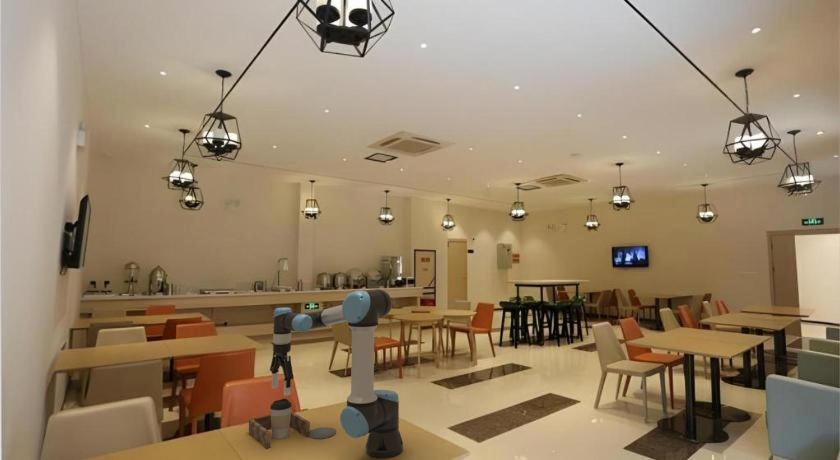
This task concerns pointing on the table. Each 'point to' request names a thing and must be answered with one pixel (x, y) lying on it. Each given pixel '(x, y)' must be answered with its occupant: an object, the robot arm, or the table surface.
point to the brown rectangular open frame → (262, 424)
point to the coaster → (322, 433)
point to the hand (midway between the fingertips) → (280, 391)
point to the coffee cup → (280, 418)
